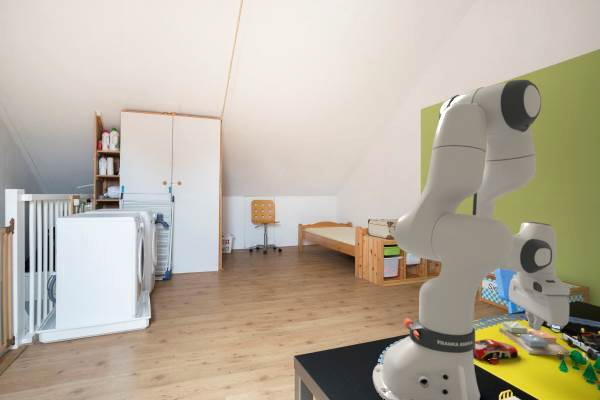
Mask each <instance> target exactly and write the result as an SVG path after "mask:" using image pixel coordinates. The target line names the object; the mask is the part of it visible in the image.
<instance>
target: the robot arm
mask: <svg viewBox="0 0 600 400" xmlns="http://www.w3.org/2000/svg"><path fill="white" fill-rule="evenodd" d="M541 108H542V98H541V93H540V91H539V88H538V86H536V84H535V83H533V82H532V81H530V80H529V79H515V80H514V79H513V80H509V81H508V82H505V83H498V84H493V85H489V86H481V87H478V88H475V89H472V90H469V91H466V92H464V93H462V94H456V95H454V96H452V97H450V98H448V99H447V100H446V101H444V102H443V104H442V105H441V107H440V110H439V112H438V122H437V123H438V124H437V125H436V129H435V130H436V131H435V133H434V136H433V137H434V138H433V142H432V148H431V157H430V162H429V167H428V168H429V169H428V175H427V179H426V182H425V185H424V188H423V191H422V193H420V196H419V198H418V200H416V203H415V204H414V205H413V206H412V207H411V208H410V209H409V211H407V212H406V213H404V214H403V215H401V217H399V219H398V220H397V222H396V225H395V228H394V239H395V243H396V245H397V246H398V248H399V249H400V250H402V251H404V252H406V253H408V254H409V255H412V256H413V257H414V256H415V257H416V258H420V259H425V260H431V261H434V262H440V263H441V267H440V272H439V275H438V276H436V277H433V278H430V279H428V280H426V281H425V282H424V283H423V284H422V285H421V286H420V289H419V293H418V295H419V297H418V298H419V299H418V301H419V302H418V306H419V308H418V318H417V320H416V321H415V322H413V320H412V319H411V318H408V317H407V318H405V319H404V320H403V325H404V327H405V328H406V330H409V335H408V336H406V337H405V338H403V339H402V340H400V341H399V342H396V343H395V344H393V345H392V346H390V347H389V348H387V350H386V352H385V354H384V358H383V362H382V364H377V365H375V367H374V369H373V371H372V381H373V385H374V388H375V390H376V392H377V394H378V393H379V394H378V395H379V396H380V397H381V398H382V400H384V399H385V400H480V398H481V394H480V390H479V387H478V382H477V378H476V377H477V376H476V372H475V371H476V370H475V361H474V356H473V354H474V353H475V342H476V329H475V328H474V317H475V316H474V315H475V314H474V313H475V306H476V305H475V303H476V302H475V301H476V296H477V292H478V290H479V288H480V286H481V284H482V283H483V281H484V280H485V279H486V278H487V276H488V275H490V274H491V273H493V272H495V271H496V270H498V269H500V270H505V271H509V272H510V271H512V272H515V273H514V274H513V275H512V278H511V279H510V282H509V287H508V299H509V301H510V302H511V303H513V304H515V305H516V306H518V307H519V308H522V309H524V310H525V316H526V318H527V320H528V321H527V325H528V327H529V328H530V329H534V330H536V331H542V325H543V323H544V322H546V323H550V324H551V325H555V326H563V327H565V326H566V325H567V324H568V323H569V319H570V301H569V299H568V296H569V295H570V294H571V289H570V287H569V286H568V285H567V284H566V283H564V282H563V281H562V280H561V278H559V276H557V269H556V265H555V262H556V258H557V253H558V251H557V238H556V237H557V236H556V231H555V228H554V226H552V225H551V224H548V223H544V222H537V221H525V222H524V221H523V222H521V223H520V224H521V225H520V227H519V231H518V233H516V234H512V232H511V230H510V229H509V227H508V226H507V225H506V224H505V223H504V222H503V221H501V220H498V219H494V210H495V203H496V201H497V200H498V199H500V198H501V197H503V196H505V195H508V194H510V193H513V192H516V191H518V190H520V189H523V188H524V187H525V186H528V184H529V183H530V182H531V181H532V180H533V179H534V177H535V175H536V171H537V158H536V149H535V143H534V141H535V140H534V137H533V134H532V130H531V127H530V126H531V125H533V123H534V122H535V121H536V119H538V116H539V115H540V112H541ZM472 196H473V201H472V214H466V213H465V214H463V213H456V212H457V209H458V207H460V205H461V204H462V202H463V201H465V200H466V199H467V198H470V197H472Z"/></svg>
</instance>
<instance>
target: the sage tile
mask: <svg viewBox="0 0 600 400" xmlns="http://www.w3.org/2000/svg"><path fill="white" fill-rule="evenodd" d="M502 328H506V329H507V330H509V331H510V332H515V333H527V329H528V327H526V326H524V325H523V324H521V323H520V322H519V321H518V322H517V321H502Z"/></svg>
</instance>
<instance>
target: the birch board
mask: <svg viewBox="0 0 600 400" xmlns="http://www.w3.org/2000/svg"><path fill="white" fill-rule="evenodd" d="M498 331H499V332H500V333H501V334H503V335H504V336H505V337H506V338H508V339H509V340H510V341H511V342H513V343H515V344H516V345H517V346H518V347H520V348H521V349H522V350H523V351H524V352H527V354H529V355H549V356H550V355H551V356H558V355H557V354H558V352H560V351H562V352H563V353H564V355H563V356H568V355H569V353H570V352H572V351H571V350H569V349H568V348H567V347H564V346H563V345H561V344H560V343H558V342H557V341H556V343H548V347H536V346H529V345H528V344H527V343H525V342H524V341H523V340H521V339H520V337H518V336H517V334H529V331H536V330H534V329H533V328H527V333H515V332H510V331H509V330H507V329H506V328H505V327H499V329H498Z"/></svg>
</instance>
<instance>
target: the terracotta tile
mask: <svg viewBox="0 0 600 400" xmlns="http://www.w3.org/2000/svg"><path fill="white" fill-rule="evenodd" d="M529 334H533V335H538V336H540V337H541V338H543V339H544V340H546V341H547V342H548V343H556V342H557V337H555V336H554V335H552V334H551V333H549V332H548V331H544V330H540V331H529Z"/></svg>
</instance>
